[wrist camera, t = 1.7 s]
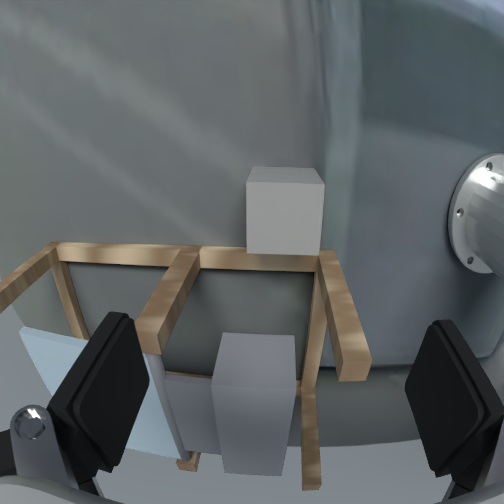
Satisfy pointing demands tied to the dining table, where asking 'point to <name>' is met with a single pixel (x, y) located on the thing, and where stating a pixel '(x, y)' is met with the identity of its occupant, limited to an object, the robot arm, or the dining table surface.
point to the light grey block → (284, 211)
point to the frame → (175, 294)
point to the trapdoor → (203, 400)
